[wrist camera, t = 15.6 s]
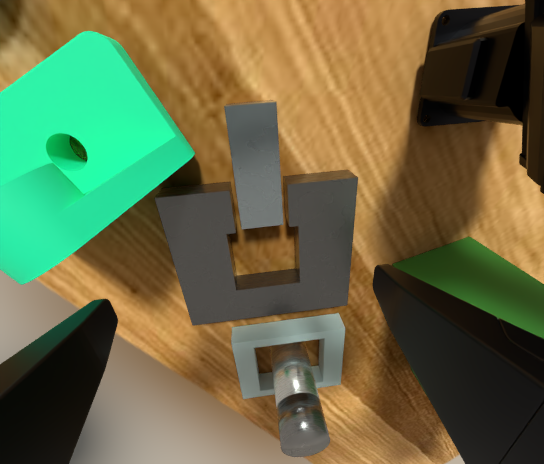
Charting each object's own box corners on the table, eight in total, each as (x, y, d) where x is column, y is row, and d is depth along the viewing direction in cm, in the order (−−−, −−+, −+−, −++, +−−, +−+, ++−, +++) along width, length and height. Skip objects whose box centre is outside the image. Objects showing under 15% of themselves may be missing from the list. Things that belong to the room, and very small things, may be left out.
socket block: (347, 169, 21) (357, 177, 19) (339, 290, 26) (347, 305, 24) (162, 188, 20) (154, 198, 18) (195, 309, 25) (192, 325, 24)
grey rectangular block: (271, 100, 18) (276, 102, 16) (278, 210, 22) (283, 224, 19) (226, 104, 18) (224, 106, 15) (241, 214, 21) (241, 229, 19)
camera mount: (117, 31, 15) (-57, -50, 6) (197, 149, 19) (158, 205, 10) (-31, 138, 17) (-331, 194, 8) (67, 229, 21) (-67, 338, 12)
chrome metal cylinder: (305, 334, 29) (330, 427, 21) (306, 358, 31) (329, 452, 23) (268, 339, 28) (279, 436, 21) (271, 363, 30) (282, 460, 22)
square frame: (338, 313, 28) (345, 328, 26) (334, 368, 32) (340, 384, 30) (232, 327, 27) (231, 343, 25) (242, 381, 31) (243, 399, 30)
